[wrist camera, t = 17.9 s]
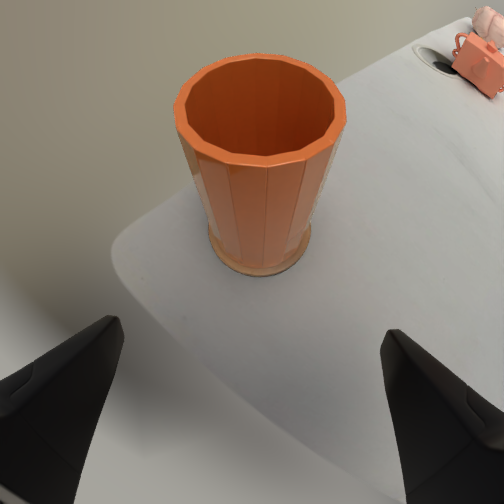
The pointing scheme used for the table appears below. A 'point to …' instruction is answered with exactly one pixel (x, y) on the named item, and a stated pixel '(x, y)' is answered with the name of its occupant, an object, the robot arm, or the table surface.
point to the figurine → (489, 25)
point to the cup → (259, 150)
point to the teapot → (480, 63)
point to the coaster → (260, 271)
